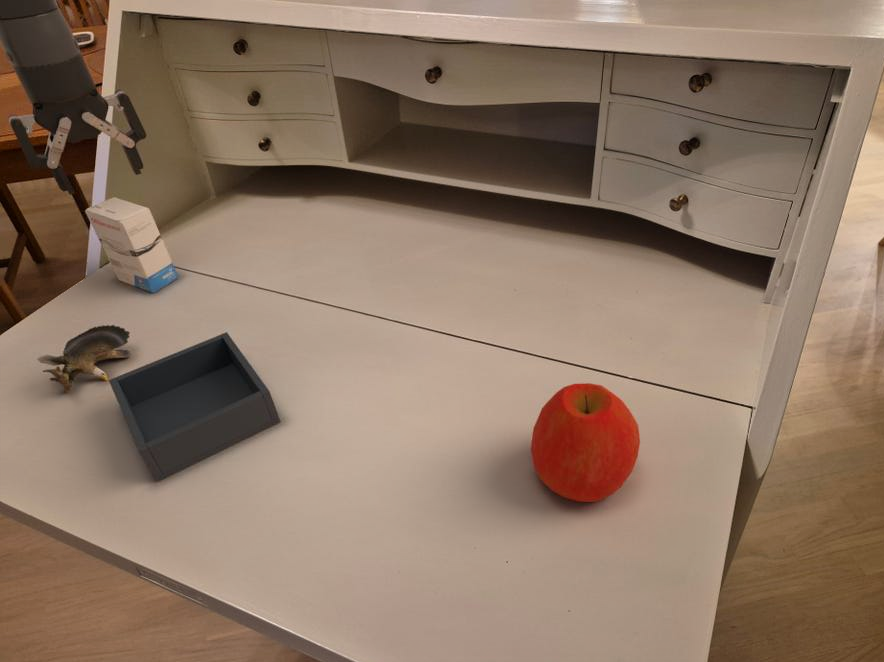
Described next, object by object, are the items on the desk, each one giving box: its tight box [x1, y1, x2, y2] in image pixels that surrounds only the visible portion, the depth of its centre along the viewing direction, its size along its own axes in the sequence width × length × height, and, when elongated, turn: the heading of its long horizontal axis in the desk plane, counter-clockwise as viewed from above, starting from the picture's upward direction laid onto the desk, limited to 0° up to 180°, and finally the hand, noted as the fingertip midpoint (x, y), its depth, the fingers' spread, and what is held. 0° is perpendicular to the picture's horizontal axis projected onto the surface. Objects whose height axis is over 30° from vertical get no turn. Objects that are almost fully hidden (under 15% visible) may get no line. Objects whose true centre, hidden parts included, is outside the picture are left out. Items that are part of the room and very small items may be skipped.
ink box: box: [84, 196, 179, 294], centre depth 92 cm, size 8×5×12 cm, turn 59°
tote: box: [108, 331, 282, 483], centre depth 71 cm, size 14×14×5 cm
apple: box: [530, 382, 641, 503], centre depth 60 cm, size 10×10×10 cm
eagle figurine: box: [36, 324, 131, 394], centre depth 78 cm, size 8×7×9 cm
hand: (105, 182), depth 86 cm, fingers open, 8 cm apart
